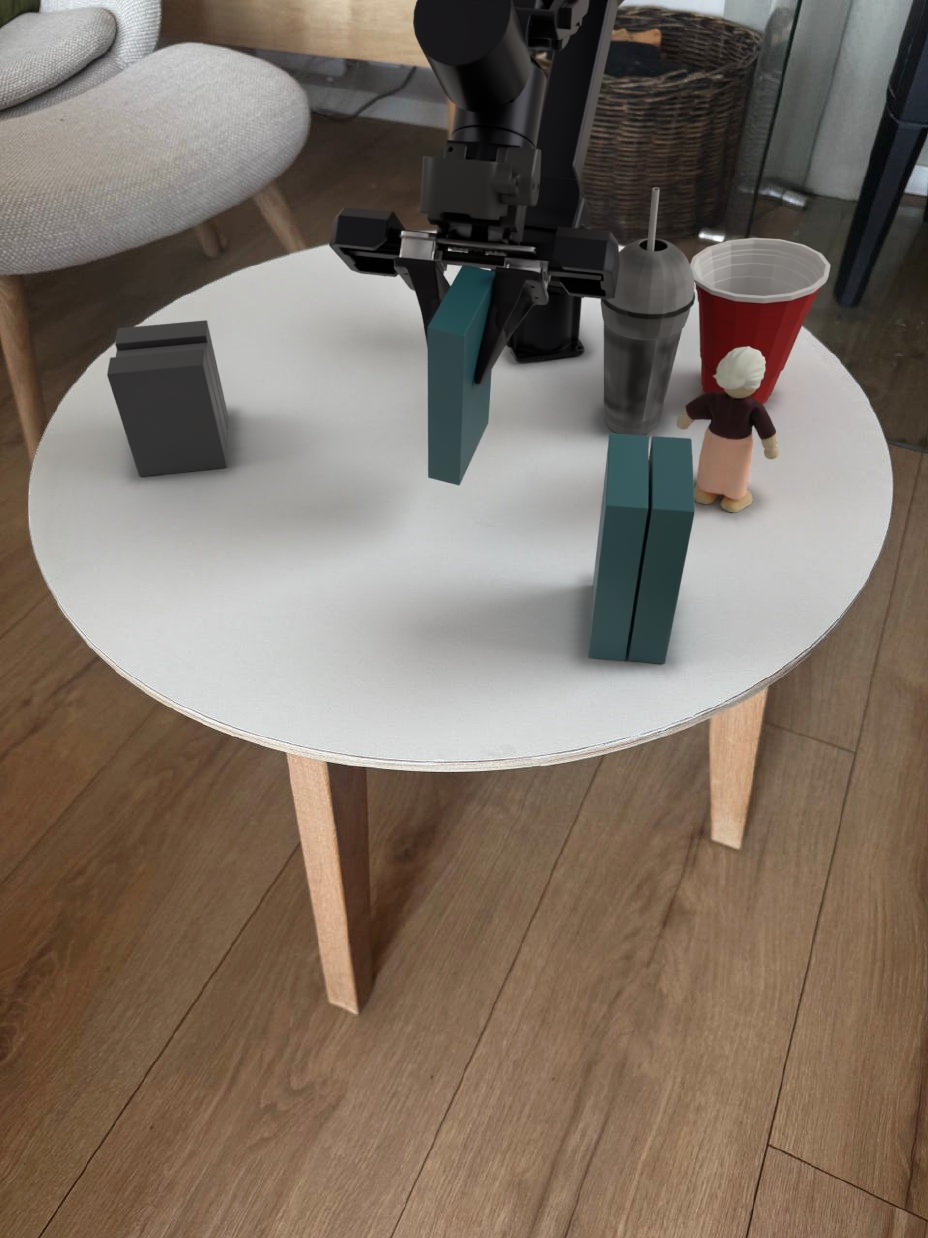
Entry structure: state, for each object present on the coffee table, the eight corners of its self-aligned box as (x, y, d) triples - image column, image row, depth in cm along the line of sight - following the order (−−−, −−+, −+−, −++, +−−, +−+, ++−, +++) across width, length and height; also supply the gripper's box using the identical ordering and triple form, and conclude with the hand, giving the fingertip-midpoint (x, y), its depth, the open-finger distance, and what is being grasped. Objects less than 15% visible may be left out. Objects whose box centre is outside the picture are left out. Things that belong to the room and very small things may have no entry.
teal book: (458, 415, 75) (462, 263, 65) (488, 422, 75) (497, 271, 64) (427, 477, 71) (427, 327, 61) (459, 485, 71) (464, 335, 60)
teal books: (592, 584, 70) (609, 432, 61) (664, 590, 70) (691, 437, 60) (588, 657, 65) (605, 505, 56) (664, 664, 65) (695, 511, 56)
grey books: (228, 414, 86) (205, 313, 79) (227, 467, 80) (203, 364, 73) (145, 422, 85) (115, 322, 78) (139, 477, 80) (106, 374, 73)
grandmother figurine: (768, 490, 77) (805, 344, 68) (761, 520, 75) (799, 373, 66) (670, 471, 79) (694, 327, 70) (660, 500, 77) (684, 355, 67)
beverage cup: (685, 407, 85) (725, 170, 71) (660, 454, 81) (697, 211, 66) (604, 389, 87) (628, 155, 73) (575, 433, 83) (594, 193, 68)
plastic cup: (696, 347, 92) (718, 220, 83) (812, 378, 88) (847, 248, 79) (650, 405, 85) (669, 274, 77) (773, 442, 82) (807, 308, 73)
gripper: (320, 74, 59) (283, 336, 60) (633, 96, 56) (589, 372, 57) (370, 155, 70) (338, 375, 71) (634, 177, 67) (597, 408, 68)
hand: (457, 382), depth 66 cm, fingers closed on teal book, 2 cm apart
